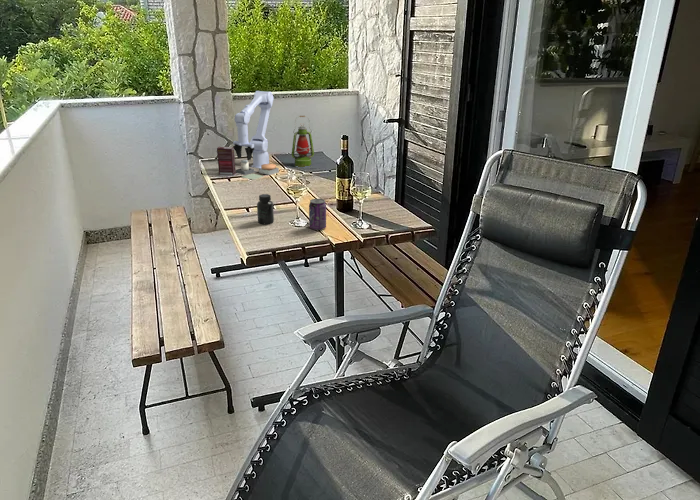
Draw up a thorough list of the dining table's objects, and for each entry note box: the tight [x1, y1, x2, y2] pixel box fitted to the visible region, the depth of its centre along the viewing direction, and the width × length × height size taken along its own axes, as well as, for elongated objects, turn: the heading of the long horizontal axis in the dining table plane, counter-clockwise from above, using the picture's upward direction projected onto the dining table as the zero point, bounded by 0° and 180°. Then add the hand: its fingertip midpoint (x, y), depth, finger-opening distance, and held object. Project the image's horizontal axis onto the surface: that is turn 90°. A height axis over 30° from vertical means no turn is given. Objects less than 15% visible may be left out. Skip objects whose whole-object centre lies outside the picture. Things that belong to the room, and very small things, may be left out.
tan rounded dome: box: [261, 163, 277, 169], centre depth 303 cm, size 8×8×4 cm
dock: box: [236, 167, 259, 176], centre depth 305 cm, size 10×10×2 cm
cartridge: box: [240, 159, 250, 171], centre depth 304 cm, size 4×4×6 cm
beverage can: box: [308, 198, 327, 231], centre depth 221 cm, size 7×7×12 cm
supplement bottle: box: [256, 193, 275, 226], centre depth 226 cm, size 7×7×12 cm
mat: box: [241, 173, 265, 181], centre depth 296 cm, size 9×9×1 cm
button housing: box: [258, 167, 280, 176], centre depth 304 cm, size 8×8×3 cm
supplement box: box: [216, 146, 237, 177], centre depth 295 cm, size 9×5×16 cm, turn 84°
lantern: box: [291, 115, 315, 167], centre depth 316 cm, size 14×11×30 cm
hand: (244, 158), depth 302 cm, fingers open, 7 cm apart
